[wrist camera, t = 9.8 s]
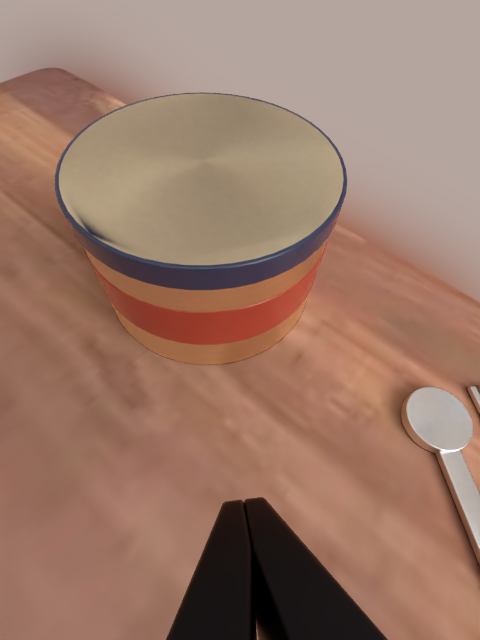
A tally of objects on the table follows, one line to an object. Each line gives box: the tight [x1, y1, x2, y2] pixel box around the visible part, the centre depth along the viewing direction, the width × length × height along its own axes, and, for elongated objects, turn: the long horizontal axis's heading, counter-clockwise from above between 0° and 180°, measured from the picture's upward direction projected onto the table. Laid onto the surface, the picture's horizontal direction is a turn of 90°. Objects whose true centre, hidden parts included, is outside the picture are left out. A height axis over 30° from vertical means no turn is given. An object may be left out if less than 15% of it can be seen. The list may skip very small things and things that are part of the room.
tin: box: [55, 93, 347, 365], centre depth 21 cm, size 14×14×9 cm
